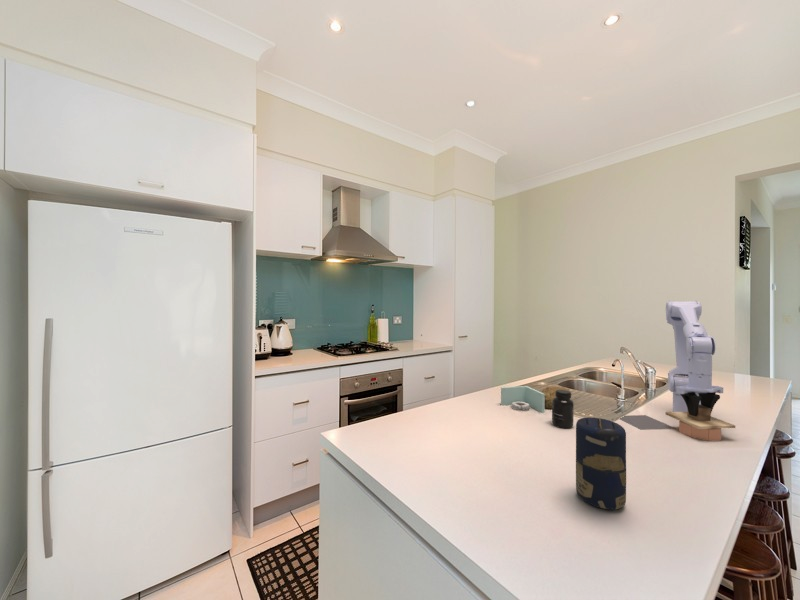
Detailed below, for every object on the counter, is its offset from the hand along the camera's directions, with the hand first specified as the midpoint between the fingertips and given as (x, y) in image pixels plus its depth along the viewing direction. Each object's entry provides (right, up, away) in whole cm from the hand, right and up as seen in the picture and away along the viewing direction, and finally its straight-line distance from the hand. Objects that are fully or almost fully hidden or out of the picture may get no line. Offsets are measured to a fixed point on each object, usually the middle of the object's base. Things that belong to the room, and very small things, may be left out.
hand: (699, 415), depth 108 cm
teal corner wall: (-48, -7, +26) cm, 55 cm away
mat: (-11, -7, +10) cm, 16 cm away
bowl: (0, -7, 0) cm, 7 cm away
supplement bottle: (-41, -7, +8) cm, 42 cm away
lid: (0, -2, 0) cm, 2 cm away
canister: (-54, -7, -35) cm, 64 cm away
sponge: (-32, -7, +33) cm, 47 cm away
